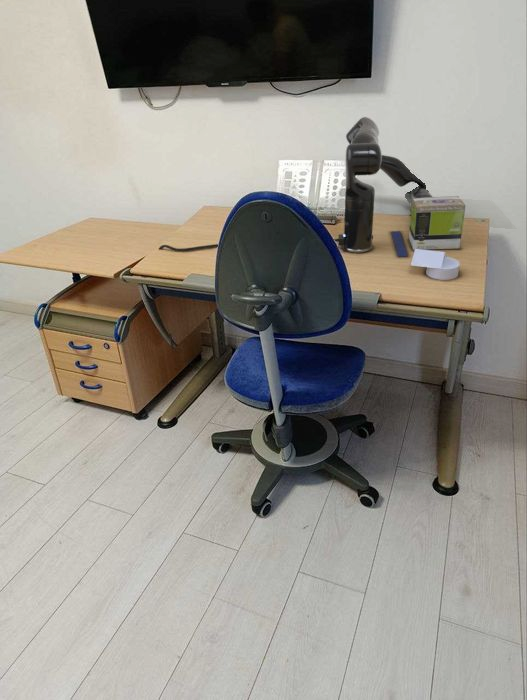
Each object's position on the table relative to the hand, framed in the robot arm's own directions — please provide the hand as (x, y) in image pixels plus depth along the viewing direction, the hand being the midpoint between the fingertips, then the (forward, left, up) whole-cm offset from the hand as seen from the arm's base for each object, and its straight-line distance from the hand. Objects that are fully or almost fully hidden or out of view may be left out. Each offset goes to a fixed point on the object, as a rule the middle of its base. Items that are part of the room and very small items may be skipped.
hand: (432, 220), depth 170 cm
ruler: (-11, -5, -6) cm, 14 cm away
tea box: (0, -6, -6) cm, 9 cm away
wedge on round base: (-3, -28, -6) cm, 29 cm away
